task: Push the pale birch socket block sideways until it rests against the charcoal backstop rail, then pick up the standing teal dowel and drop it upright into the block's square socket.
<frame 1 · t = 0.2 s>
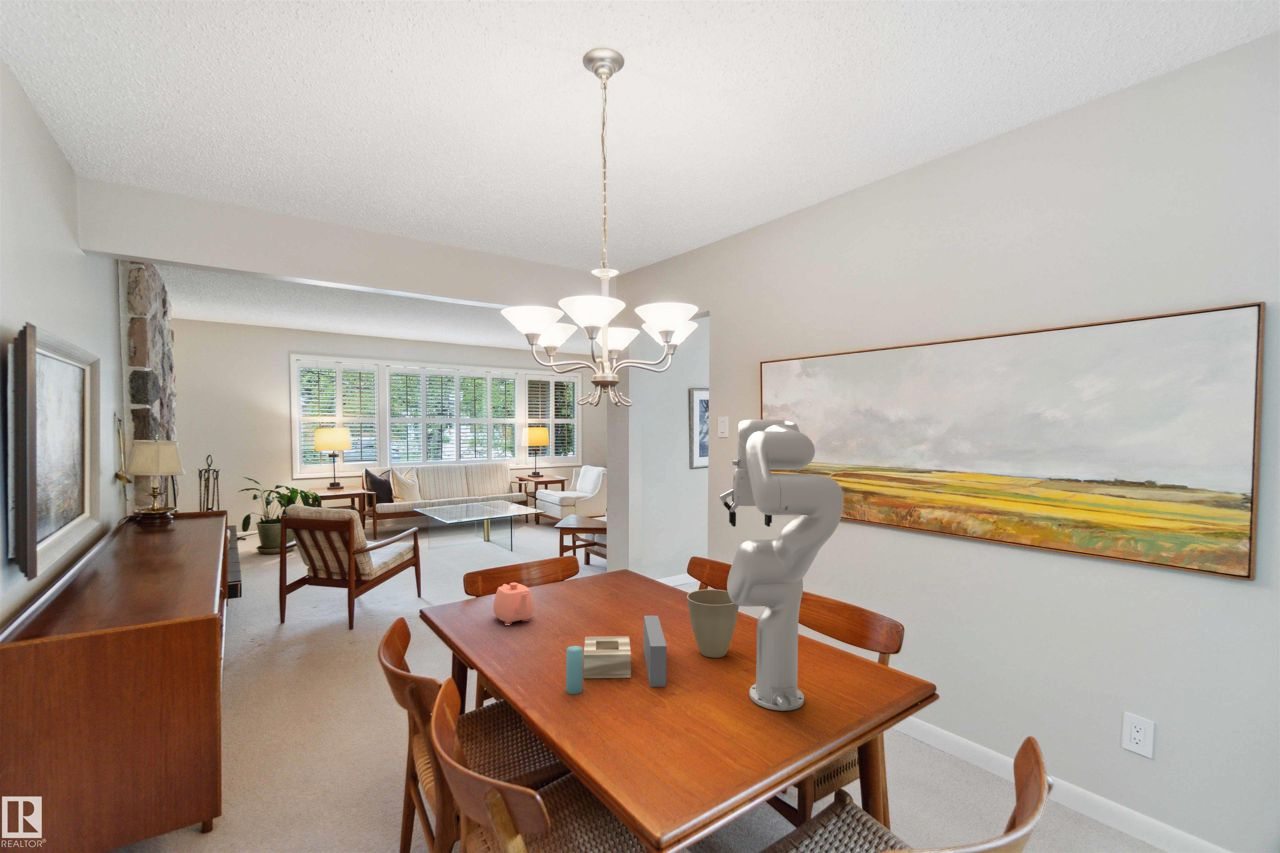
hand: (750, 525, 157), 37 cm above the table, tool pointing down, fingers open, 9 cm apart
plant pot: (712, 653, 159), on the table
dowel: (574, 690, 136), on the table
teapot: (514, 621, 183), on the table
backstop rail: (654, 667, 149), on the table
socket block: (607, 656, 148), point 3 cm above the table, slide at 0.0 cm
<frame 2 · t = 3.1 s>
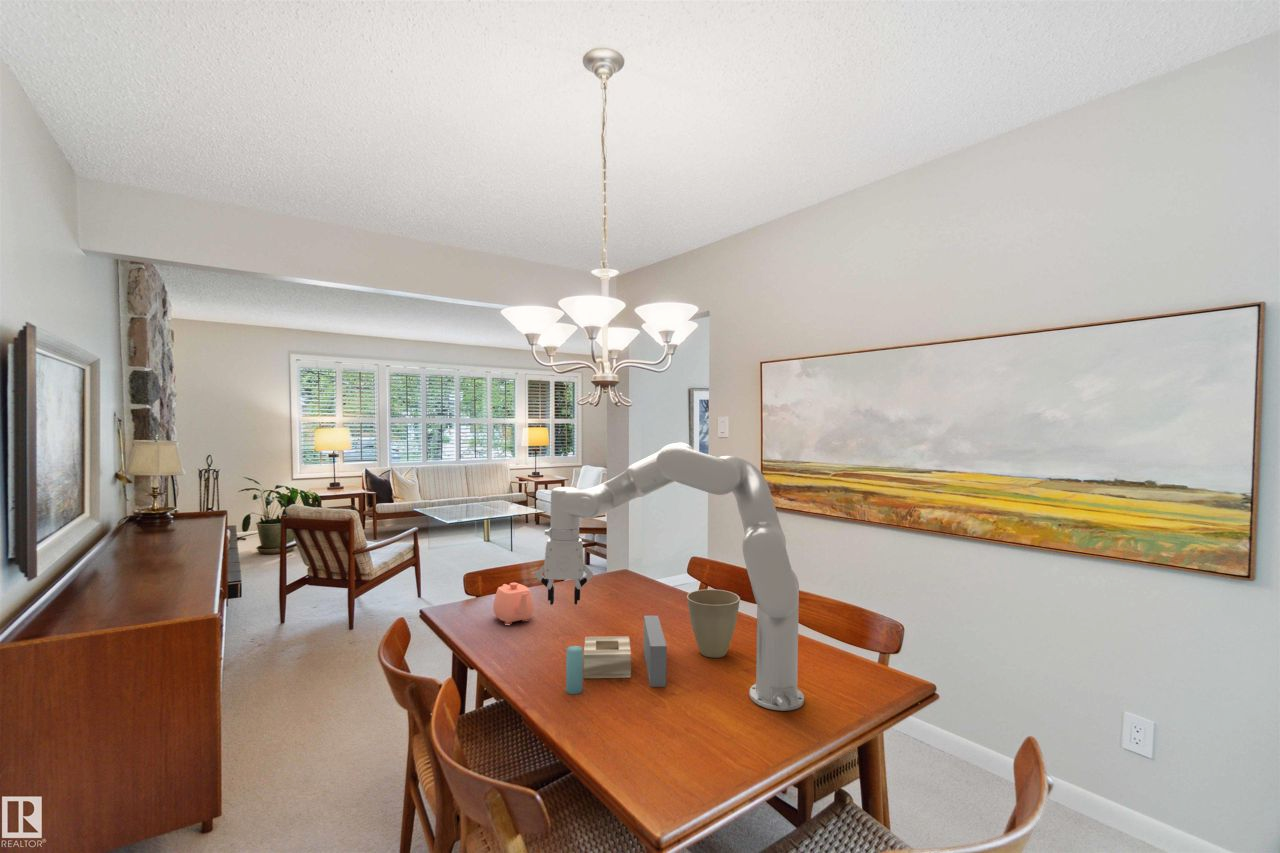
hand: (564, 602, 147), 18 cm above the table, tool pointing down, fingers open, 5 cm apart
nothing on the table moved.
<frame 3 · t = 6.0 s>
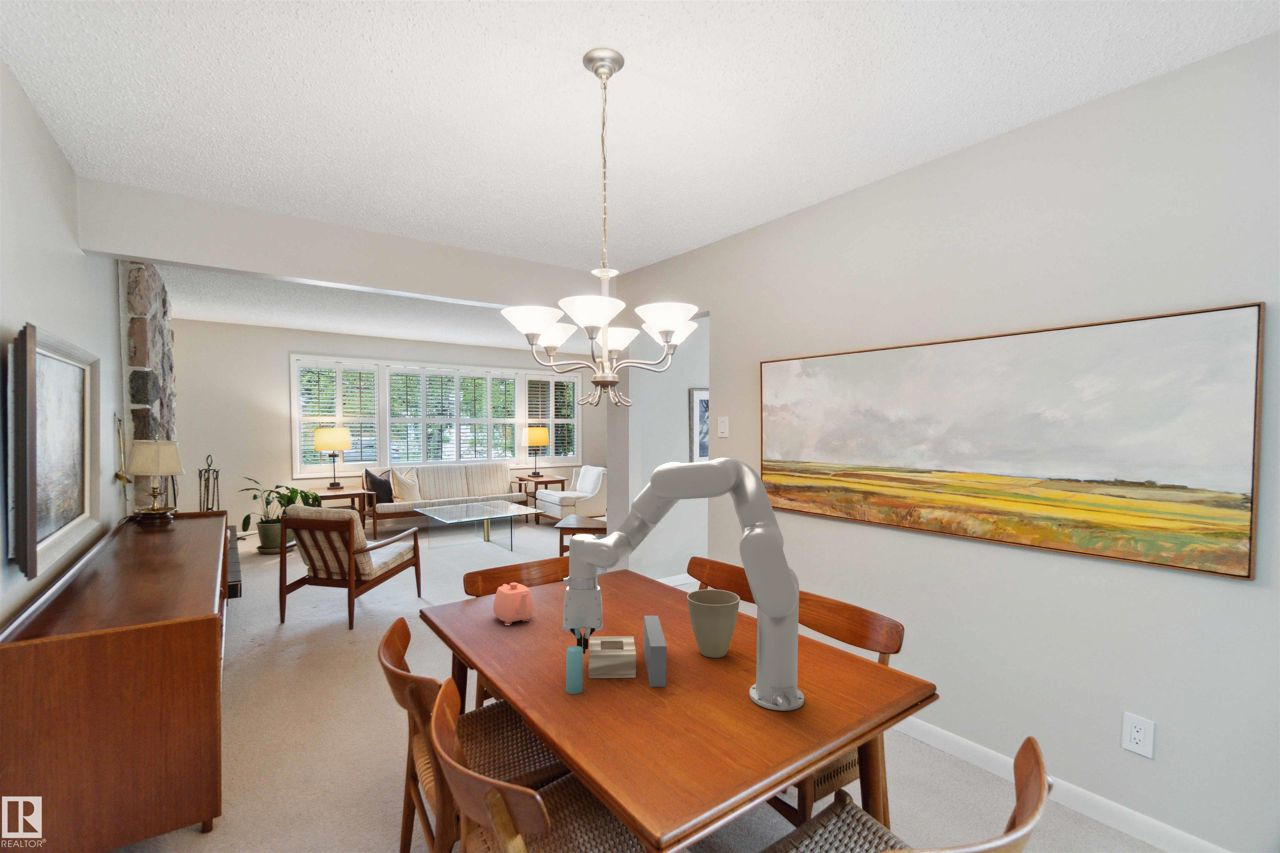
hand: (582, 651, 148), 4 cm above the table, tool pointing down, fingers closed
socket block: (611, 656, 148), point 3 cm above the table, slide at 1.3 cm, touching gripper
everything else where it was.
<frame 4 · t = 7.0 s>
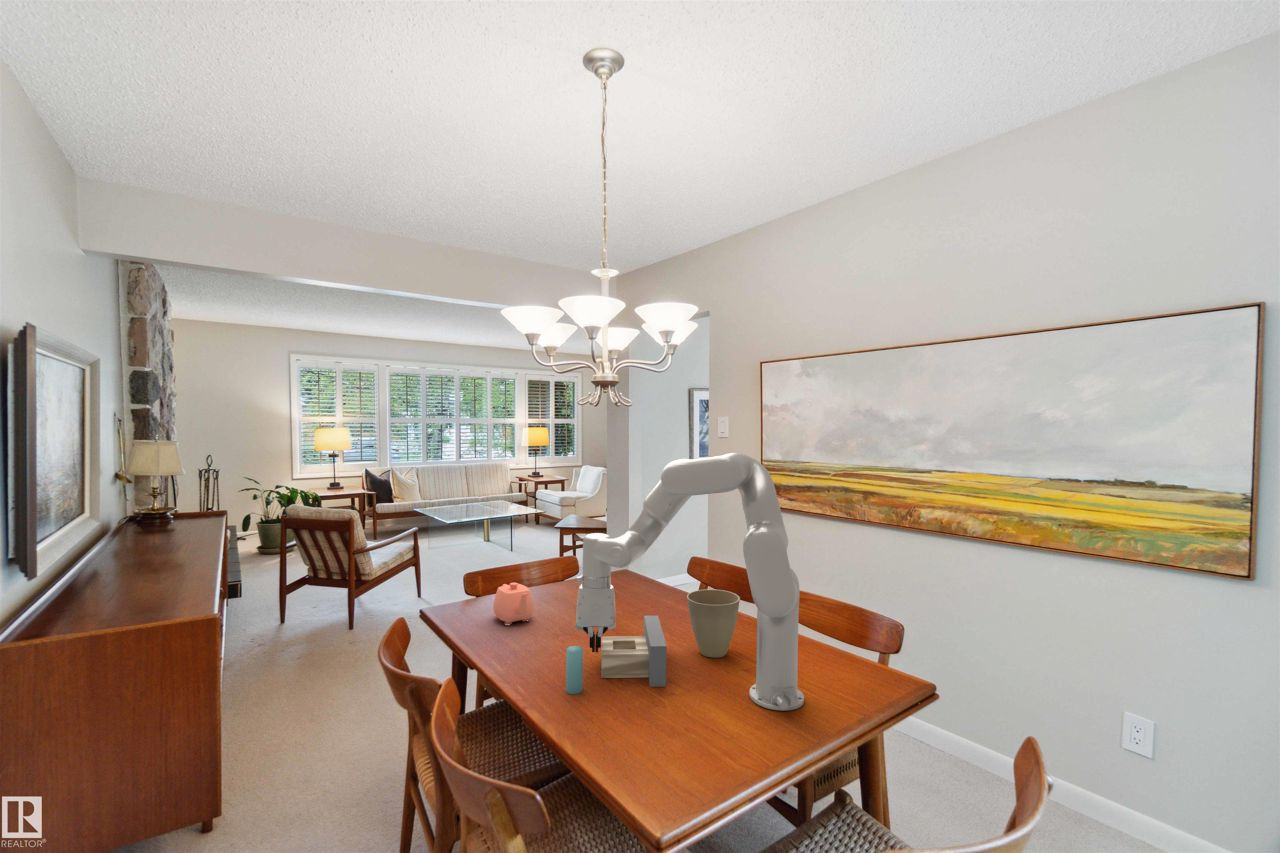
hand: (595, 650, 148), 5 cm above the table, tool pointing down, fingers closed
socket block: (624, 656, 149), point 3 cm above the table, slide at 4.5 cm, touching backstop rail, gripper
everything else where it was.
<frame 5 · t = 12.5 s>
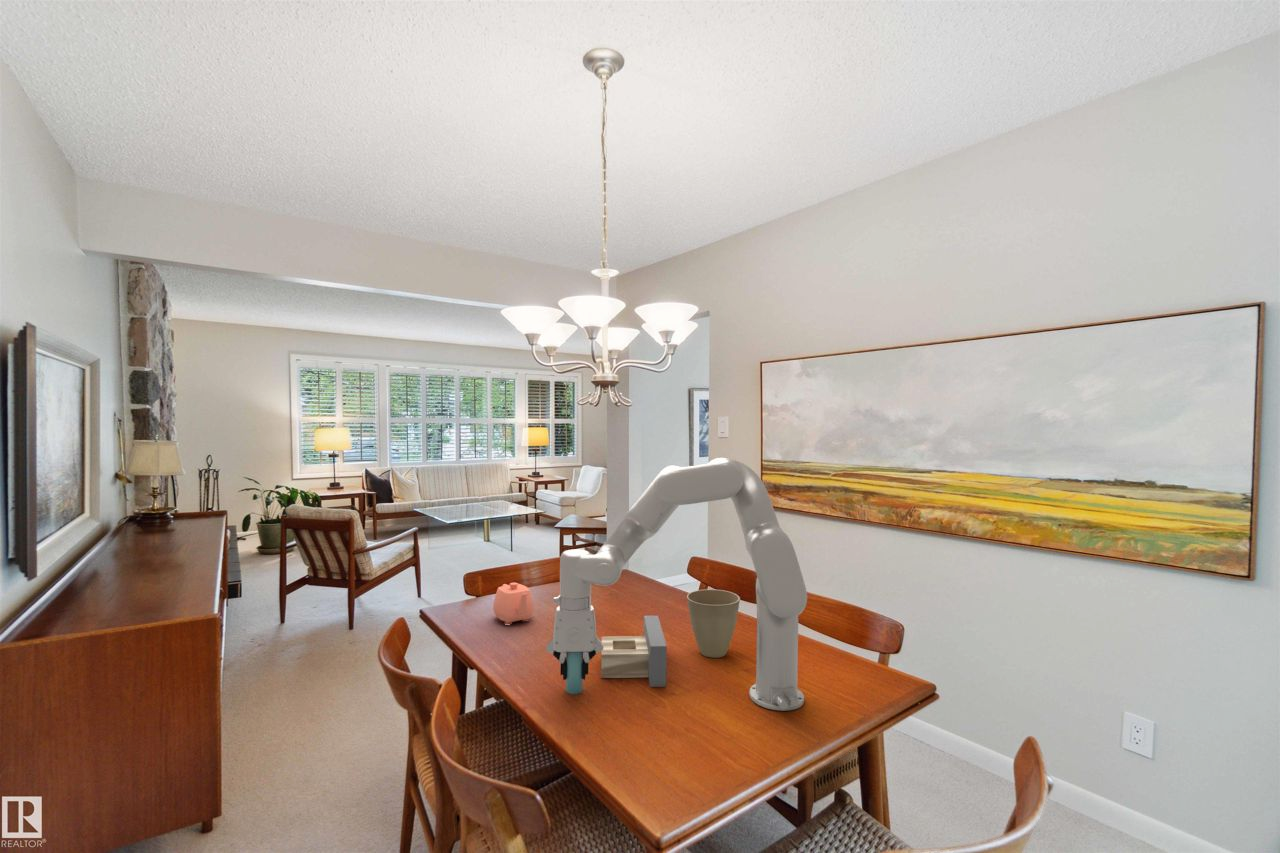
hand: (574, 676, 136), 3 cm above the table, tool pointing down, fingers closed on dowel, 4 cm apart
dowel: (574, 690, 136), on the table, touching gripper
socket block: (624, 656, 149), point 3 cm above the table, slide at 4.5 cm, touching backstop rail
everything else where it was.
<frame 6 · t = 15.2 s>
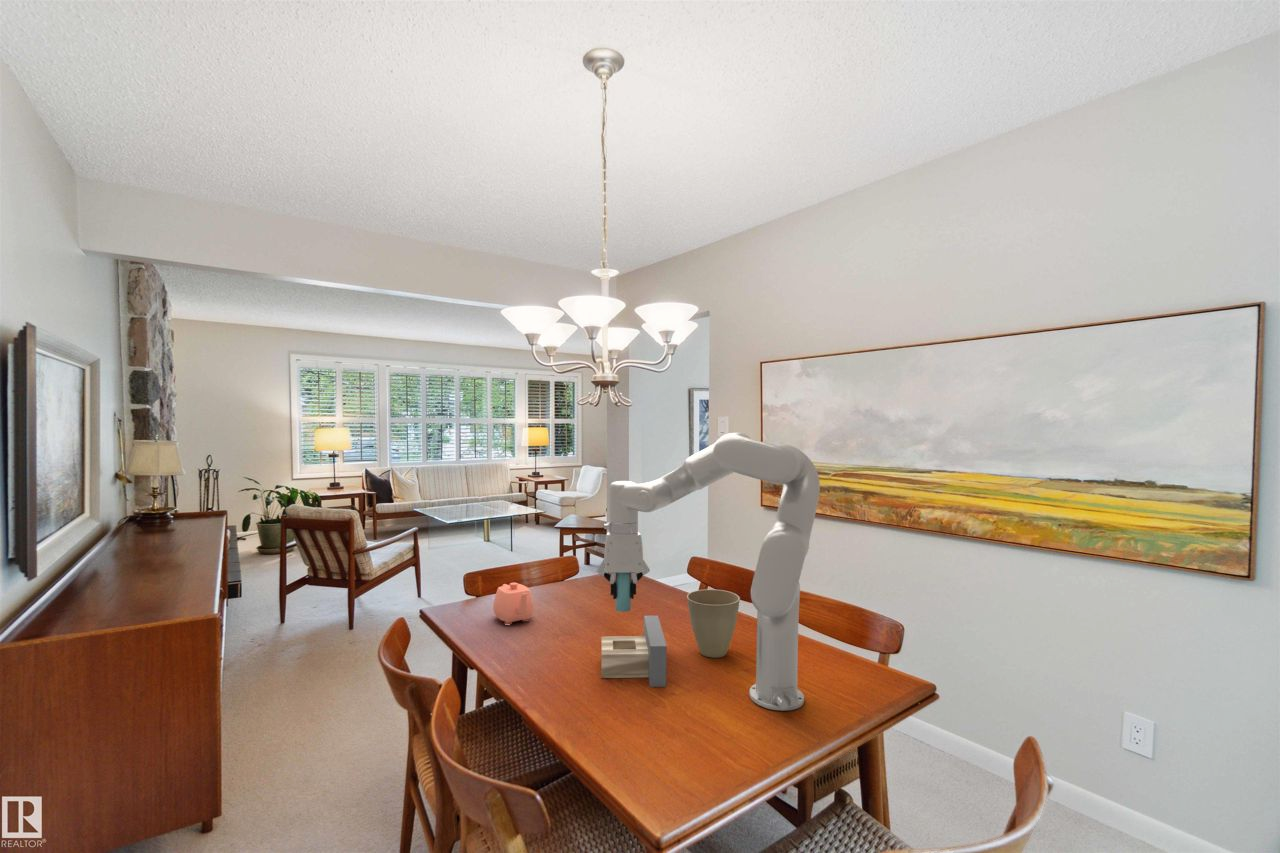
hand: (623, 596, 148), 19 cm above the table, tool pointing down, fingers closed on dowel, 4 cm apart
dowel: (623, 609, 148), point 16 cm above the table, touching gripper
everything else where it was.
when the fingers open (7 cm above the table, at t = 17.9 s): dowel drops 3 cm, resting on socket block.
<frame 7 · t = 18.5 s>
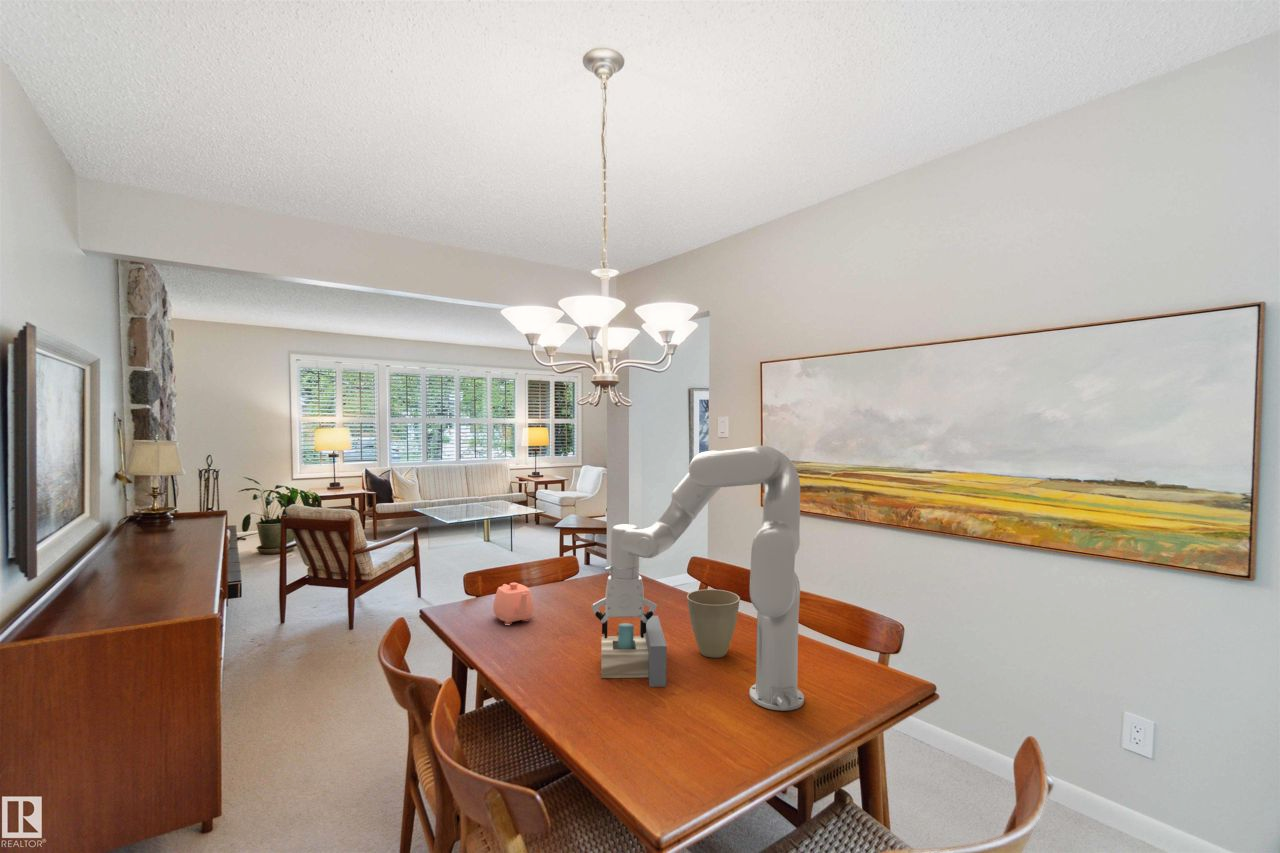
hand: (623, 636, 149), 8 cm above the table, tool pointing down, fingers open, 9 cm apart
dowel: (624, 663, 148), point 1 cm above the table, touching socket block
socket block: (624, 656, 149), point 3 cm above the table, slide at 4.5 cm, touching dowel
everything else where it was.
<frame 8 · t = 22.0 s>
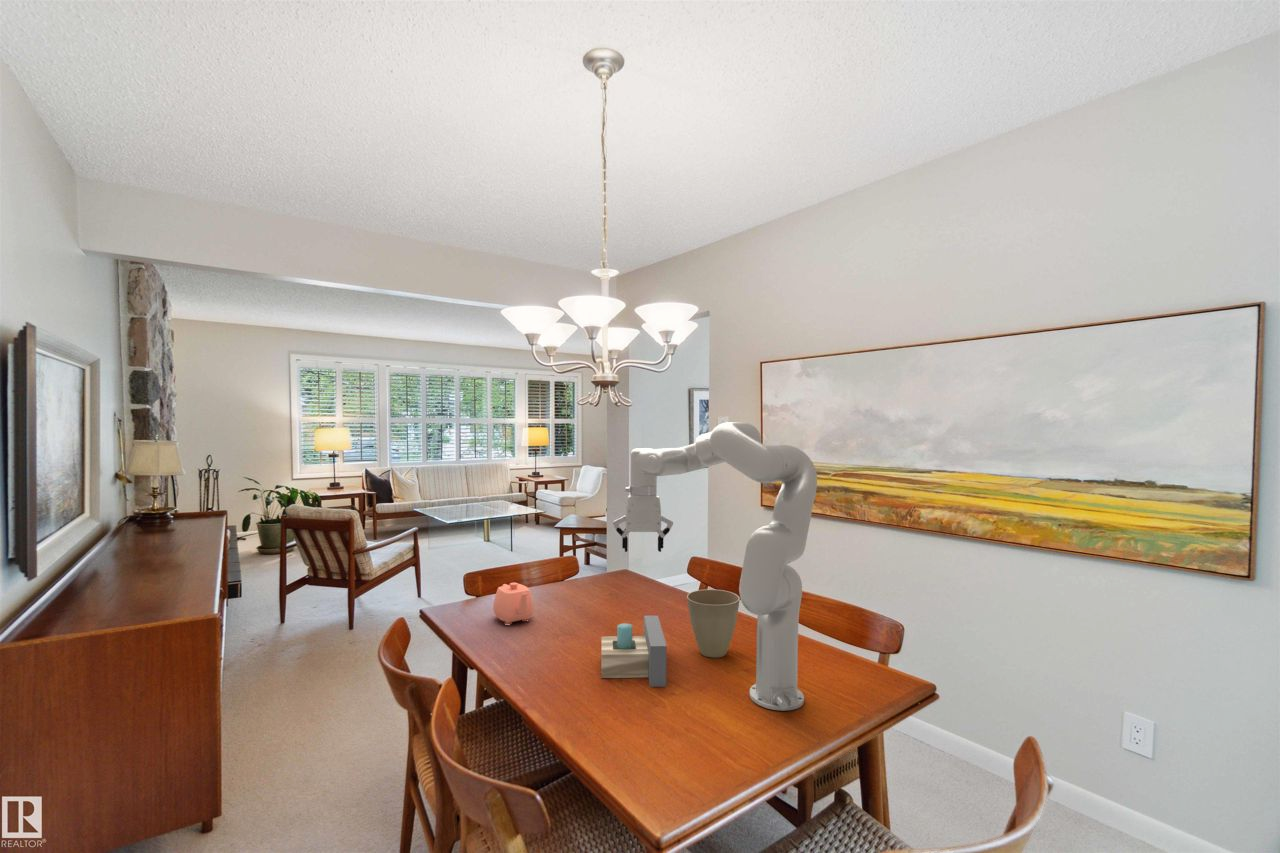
hand: (642, 550, 161), 28 cm above the table, tool pointing down, fingers open, 9 cm apart
nothing on the table moved.
at the end: socket block slide at 4.5 cm; dowel 0.2 cm from the target spot, point 1.2 cm above the table; dowel tilted 3° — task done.
